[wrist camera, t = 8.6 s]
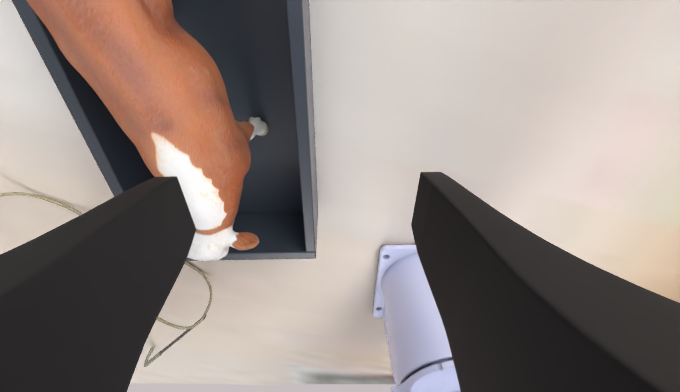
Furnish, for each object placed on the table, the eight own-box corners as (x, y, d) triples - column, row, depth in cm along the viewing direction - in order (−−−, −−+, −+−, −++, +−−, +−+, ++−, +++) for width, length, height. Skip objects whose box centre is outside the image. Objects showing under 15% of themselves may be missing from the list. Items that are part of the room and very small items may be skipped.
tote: (317, 213, 22) (315, 258, 19) (177, 215, 22) (147, 261, 18) (303, -133, 12) (292, -183, 8) (39, -140, 12) (-91, -194, 8)
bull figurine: (228, 192, 20) (179, 294, 14) (98, -65, 13) (-155, -115, 6) (290, 181, 20) (271, 280, 13) (196, -92, 12) (41, -176, 6)
